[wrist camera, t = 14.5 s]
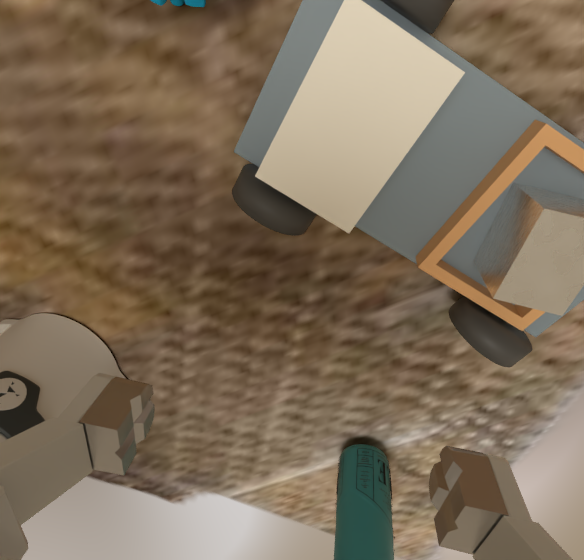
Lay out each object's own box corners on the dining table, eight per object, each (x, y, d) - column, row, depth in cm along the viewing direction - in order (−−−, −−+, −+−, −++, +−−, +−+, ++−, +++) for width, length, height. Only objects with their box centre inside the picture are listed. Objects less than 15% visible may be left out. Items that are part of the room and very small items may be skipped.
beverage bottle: (329, 447, 51) (310, 641, 34) (362, 425, 48) (359, 626, 31) (366, 471, 52) (365, 670, 35) (401, 450, 49) (418, 659, 32)
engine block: (531, 275, 32) (562, 315, 27) (473, 261, 33) (492, 298, 27) (579, 197, 29) (624, 227, 24) (513, 182, 29) (544, 208, 24)
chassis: (512, 337, 38) (539, 389, 32) (231, 166, 34) (202, 189, 28) (696, 186, 29) (783, 219, 23) (340, -69, 25) (331, -110, 19)
